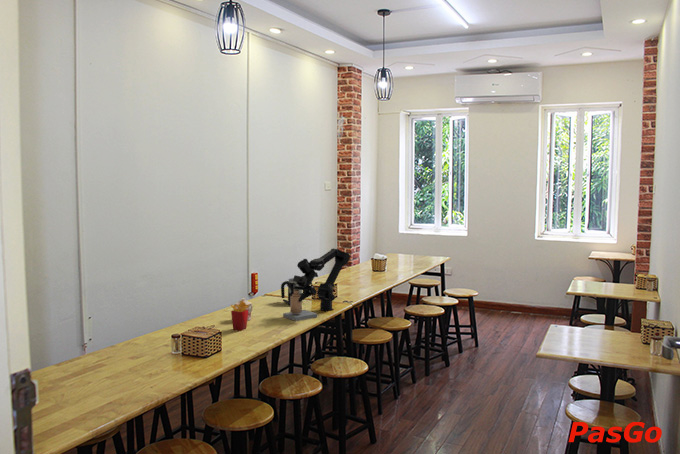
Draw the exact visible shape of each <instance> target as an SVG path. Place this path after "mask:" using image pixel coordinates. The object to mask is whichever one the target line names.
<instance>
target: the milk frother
mask: <svg viewBox="0 0 680 454" xmlns="http://www.w3.org/2000/svg"><path fill="white" fill-rule="evenodd" d="M293 278H294V277H291V278H288V279H287V280H285V281H283V282H281V284H280V292H281V293H280V297H281V299H282V302H283V303H285V304H286V305H289V306H290V294H291V290H290V289H289V287H288V286H287V284H288V283H289V282H292V283H295V284H296V285H297V286H298V284H297V282H295V281H293ZM285 286H287V288H288V289H287V299H285V297H286V295H285V292H286V291H285ZM302 293H303V290H299V294H300V295H302Z"/></svg>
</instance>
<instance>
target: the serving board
mask: <svg viewBox="0 0 680 454" xmlns="http://www.w3.org/2000/svg"><path fill="white" fill-rule="evenodd" d="M282 317H283V318H286V319H288V320H291V321H294V322H298V321H303V320H309V319H314V318H318V313H316V312H312V311H310V310H306V309H302V312H301V313H291V312H290V311H289V312H283V315H282Z"/></svg>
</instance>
